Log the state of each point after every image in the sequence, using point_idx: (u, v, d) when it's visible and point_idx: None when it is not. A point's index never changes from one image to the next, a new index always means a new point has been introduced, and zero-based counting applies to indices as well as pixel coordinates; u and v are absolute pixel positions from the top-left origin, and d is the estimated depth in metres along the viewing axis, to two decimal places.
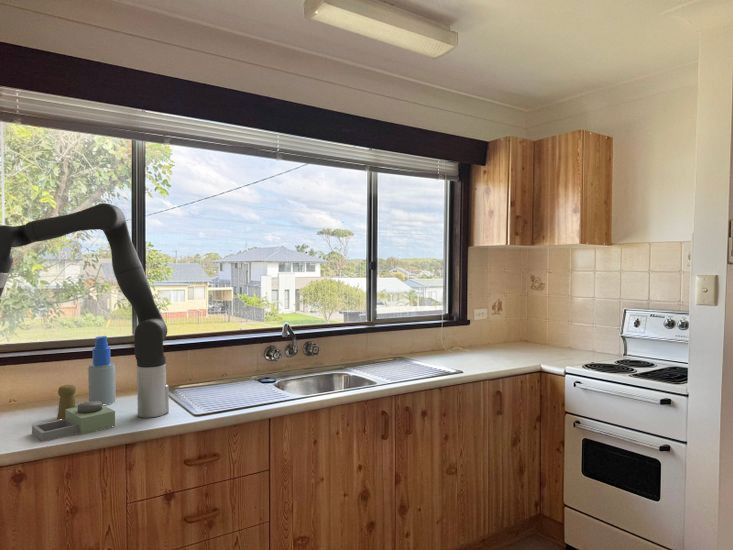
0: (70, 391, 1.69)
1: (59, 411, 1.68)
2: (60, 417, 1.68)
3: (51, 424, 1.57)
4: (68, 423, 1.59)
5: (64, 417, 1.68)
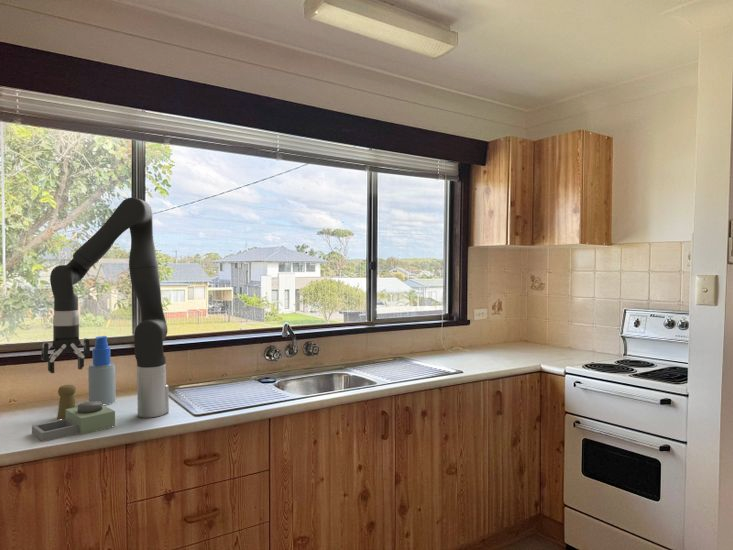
0: (70, 391, 1.69)
1: (59, 411, 1.68)
2: (60, 417, 1.68)
3: (51, 424, 1.57)
4: (68, 423, 1.59)
5: (64, 417, 1.68)
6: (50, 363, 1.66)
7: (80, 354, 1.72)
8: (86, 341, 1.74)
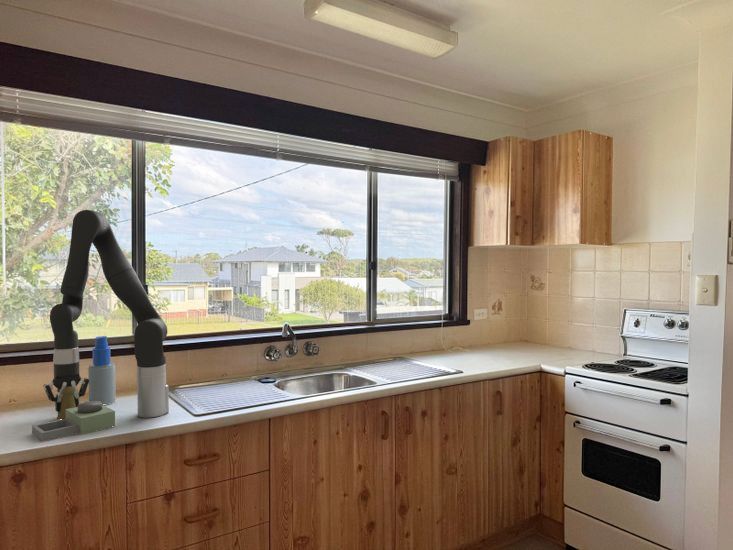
0: (69, 391, 1.69)
1: None
2: (60, 417, 1.68)
3: (51, 424, 1.57)
4: (68, 423, 1.59)
5: (64, 417, 1.68)
6: (57, 403, 1.68)
7: (76, 394, 1.72)
8: (86, 381, 1.74)
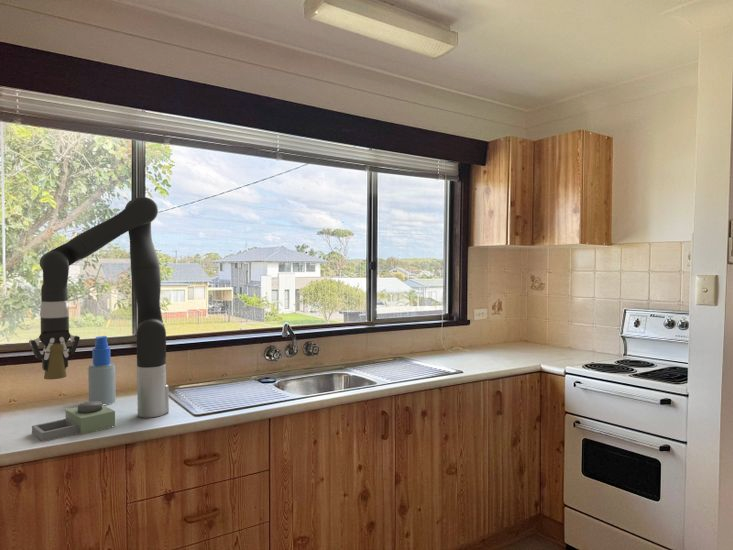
0: (58, 349, 1.54)
1: None
2: (47, 376, 1.53)
3: (51, 424, 1.57)
4: (68, 423, 1.59)
5: (51, 376, 1.53)
6: (44, 361, 1.53)
7: (65, 352, 1.57)
8: (76, 338, 1.59)
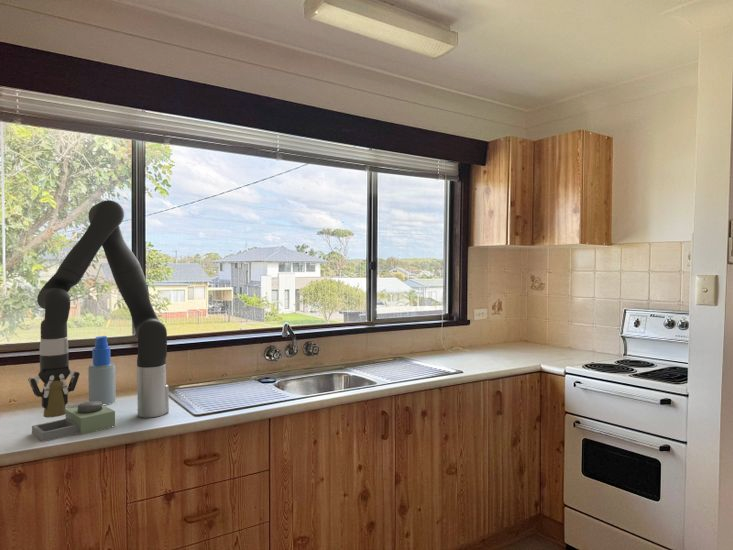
0: (57, 386, 1.53)
1: None
2: (47, 414, 1.52)
3: (51, 424, 1.57)
4: (68, 423, 1.59)
5: (51, 414, 1.52)
6: (44, 399, 1.52)
7: (64, 389, 1.55)
8: (76, 374, 1.58)
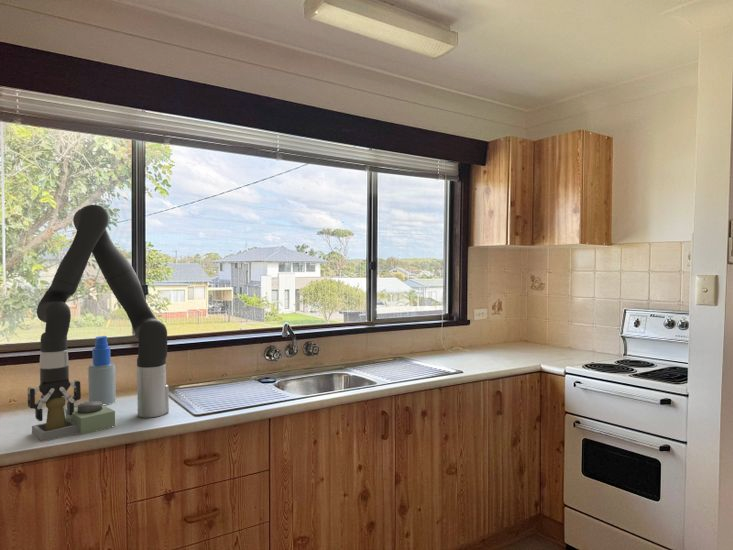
0: (59, 404, 1.53)
1: (47, 425, 1.53)
2: None
3: None
4: (68, 423, 1.59)
5: None
6: (38, 410, 1.51)
7: (70, 398, 1.57)
8: (77, 383, 1.58)
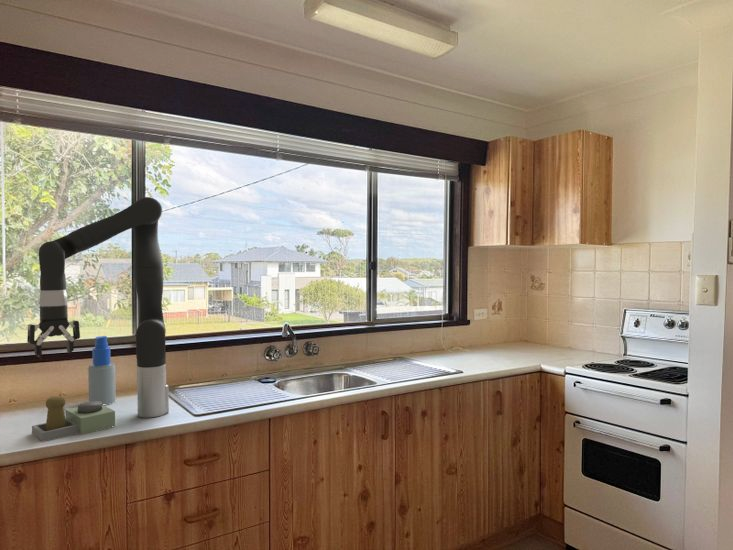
0: (59, 404, 1.53)
1: (47, 425, 1.53)
2: None
3: None
4: (68, 423, 1.59)
5: None
6: (37, 346, 1.55)
7: (69, 337, 1.62)
8: (75, 323, 1.63)
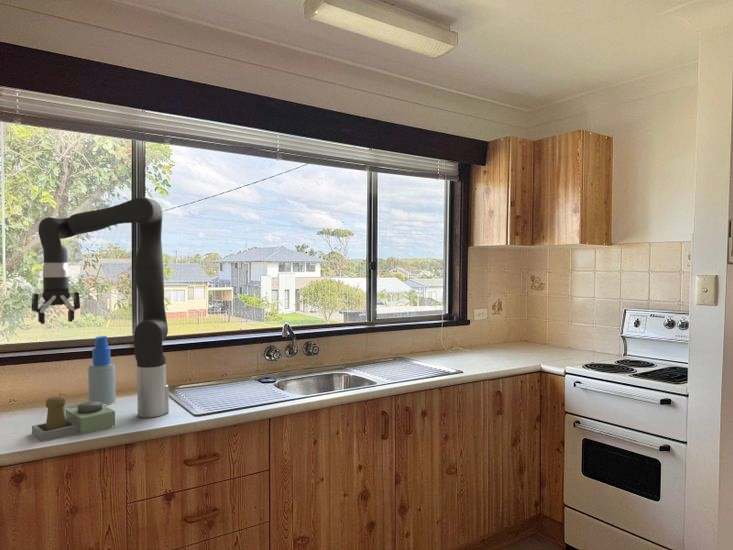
0: (59, 404, 1.53)
1: (47, 425, 1.53)
2: None
3: None
4: (68, 423, 1.59)
5: None
6: (40, 314, 1.69)
7: (70, 306, 1.75)
8: (76, 294, 1.76)
